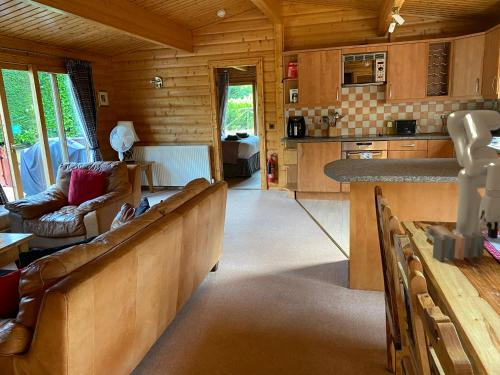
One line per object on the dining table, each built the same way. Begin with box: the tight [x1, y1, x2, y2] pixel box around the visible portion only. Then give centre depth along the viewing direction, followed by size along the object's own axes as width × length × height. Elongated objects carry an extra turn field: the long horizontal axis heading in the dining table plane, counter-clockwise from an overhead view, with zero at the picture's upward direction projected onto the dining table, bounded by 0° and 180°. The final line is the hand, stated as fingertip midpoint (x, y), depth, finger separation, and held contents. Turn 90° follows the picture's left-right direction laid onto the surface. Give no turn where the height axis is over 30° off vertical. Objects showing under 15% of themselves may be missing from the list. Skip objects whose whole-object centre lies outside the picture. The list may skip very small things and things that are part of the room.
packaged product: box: [423, 225, 453, 244], centre depth 172 cm, size 18×5×10 cm
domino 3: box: [452, 233, 465, 261], centre depth 152 cm, size 2×5×9 cm, turn 9°
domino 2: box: [443, 235, 456, 262], centre depth 151 cm, size 2×5×9 cm, turn 9°
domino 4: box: [463, 233, 475, 260], centre depth 152 cm, size 2×5×9 cm, turn 9°
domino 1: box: [432, 236, 446, 263], centre depth 150 cm, size 2×5×9 cm, turn 9°
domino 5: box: [472, 232, 486, 259], centre depth 153 cm, size 2×5×9 cm, turn 9°
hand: (492, 237), depth 153 cm, fingers closed
